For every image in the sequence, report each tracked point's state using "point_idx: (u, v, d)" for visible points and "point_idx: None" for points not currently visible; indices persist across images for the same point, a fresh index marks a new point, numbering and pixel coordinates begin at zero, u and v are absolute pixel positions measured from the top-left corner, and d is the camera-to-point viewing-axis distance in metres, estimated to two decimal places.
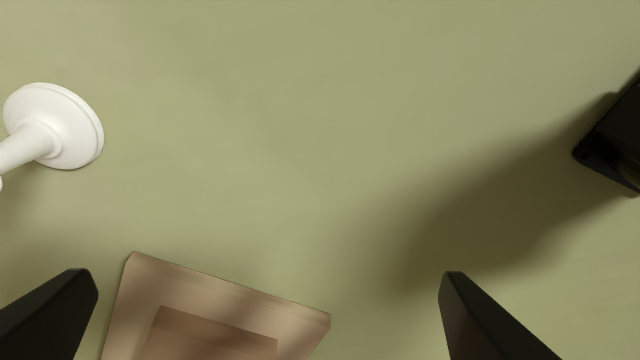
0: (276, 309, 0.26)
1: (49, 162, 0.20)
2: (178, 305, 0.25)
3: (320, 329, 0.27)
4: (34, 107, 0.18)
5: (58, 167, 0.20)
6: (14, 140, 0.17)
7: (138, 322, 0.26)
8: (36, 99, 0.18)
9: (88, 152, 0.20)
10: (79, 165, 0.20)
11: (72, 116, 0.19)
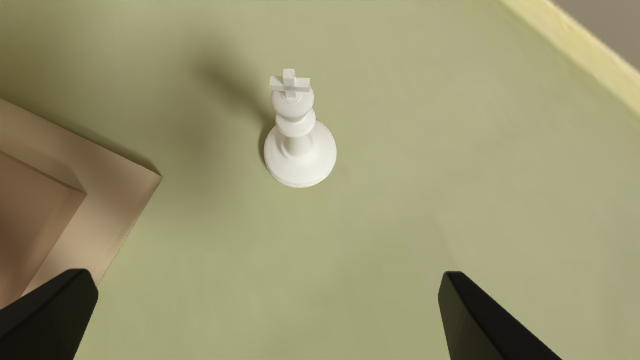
0: None
1: (273, 140, 0.23)
2: (83, 214, 0.22)
3: None
4: (322, 147, 0.23)
5: (266, 144, 0.23)
6: (307, 138, 0.21)
7: (63, 162, 0.23)
8: (327, 151, 0.23)
9: (280, 174, 0.23)
10: (267, 162, 0.23)
11: (313, 172, 0.23)
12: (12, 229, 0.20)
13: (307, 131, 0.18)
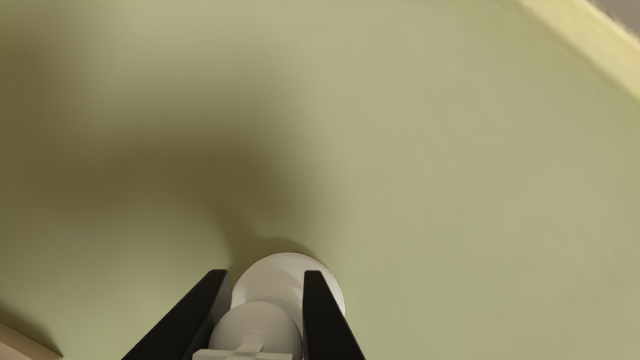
0: None
1: (241, 300, 0.14)
2: None
3: None
4: None
5: (231, 306, 0.14)
6: None
7: None
8: None
9: None
10: None
11: None
12: None
13: None
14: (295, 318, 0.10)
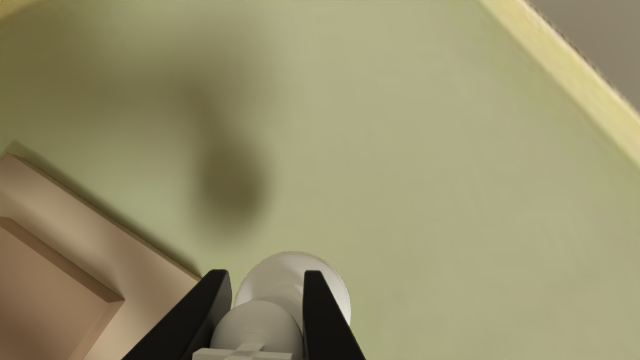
0: None
1: (247, 299, 0.14)
2: (119, 323, 0.20)
3: None
4: None
5: (237, 305, 0.14)
6: None
7: (103, 259, 0.21)
8: None
9: None
10: None
11: None
12: (45, 345, 0.18)
13: None
14: (298, 317, 0.10)
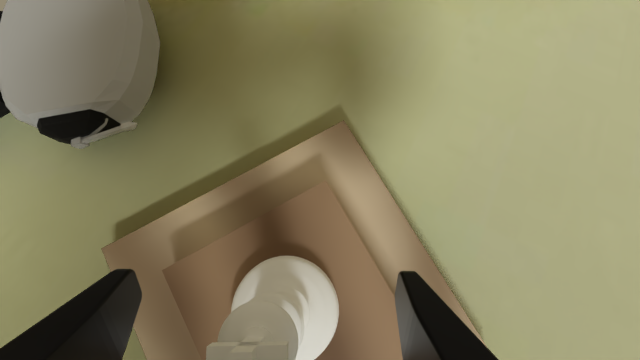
0: None
1: (243, 302, 0.16)
2: None
3: None
4: (317, 310, 0.15)
5: (234, 308, 0.16)
6: None
7: None
8: (325, 314, 0.16)
9: None
10: None
11: (307, 352, 0.15)
12: (346, 357, 0.16)
13: None
14: (291, 313, 0.11)
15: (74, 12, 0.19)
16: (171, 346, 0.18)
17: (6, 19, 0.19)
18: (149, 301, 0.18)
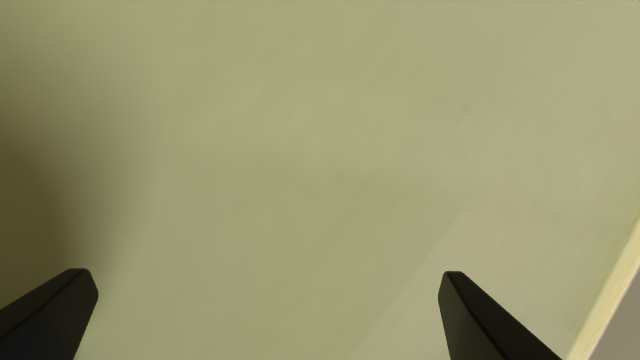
0: None
1: None
2: None
3: None
4: None
5: None
6: None
7: None
8: None
9: None
10: None
11: None
12: None
13: None
14: None
15: None
16: None
17: None
18: None
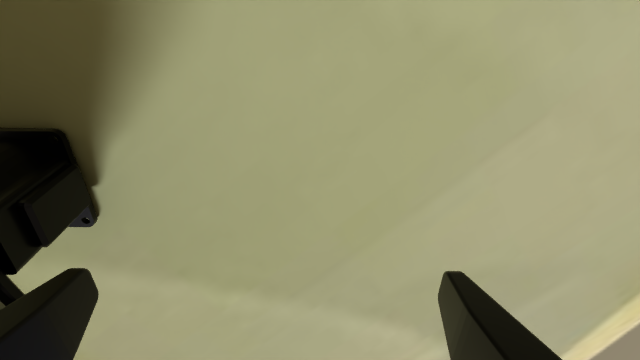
0: None
1: None
2: None
3: None
4: None
5: None
6: None
7: None
8: None
9: None
10: None
11: None
12: None
13: None
14: None
15: None
16: None
17: None
18: None
